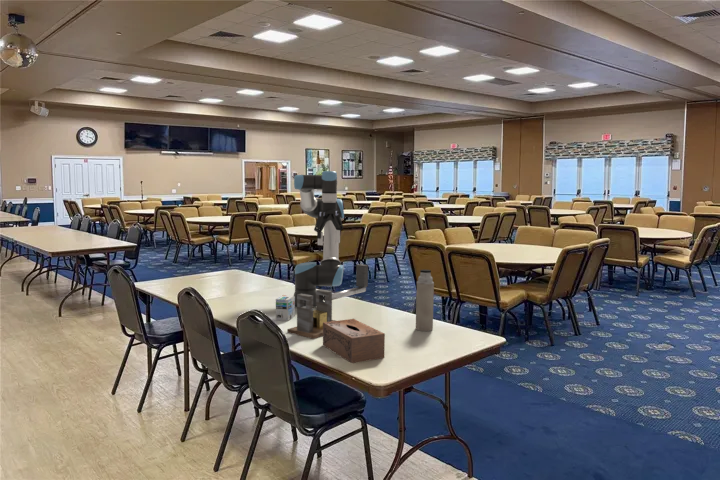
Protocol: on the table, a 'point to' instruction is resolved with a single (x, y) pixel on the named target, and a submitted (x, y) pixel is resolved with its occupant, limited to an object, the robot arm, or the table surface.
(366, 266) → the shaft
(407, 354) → the table surface
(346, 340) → the tissue box cover
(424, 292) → the thermos bottle
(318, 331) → the shaft stand
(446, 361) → the table surface
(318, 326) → the block
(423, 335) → the table surface
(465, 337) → the table surface
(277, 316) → the light bulb box
